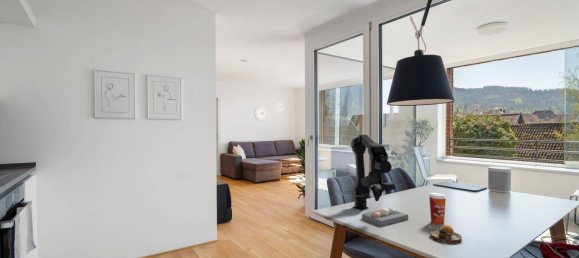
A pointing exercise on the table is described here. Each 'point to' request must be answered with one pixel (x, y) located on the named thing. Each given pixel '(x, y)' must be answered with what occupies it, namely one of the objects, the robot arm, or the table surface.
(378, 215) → the pink button
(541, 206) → the table surface
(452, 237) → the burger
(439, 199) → the paper cup
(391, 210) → the sage button
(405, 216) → the grey flat board
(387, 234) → the table surface
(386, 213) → the cream button
